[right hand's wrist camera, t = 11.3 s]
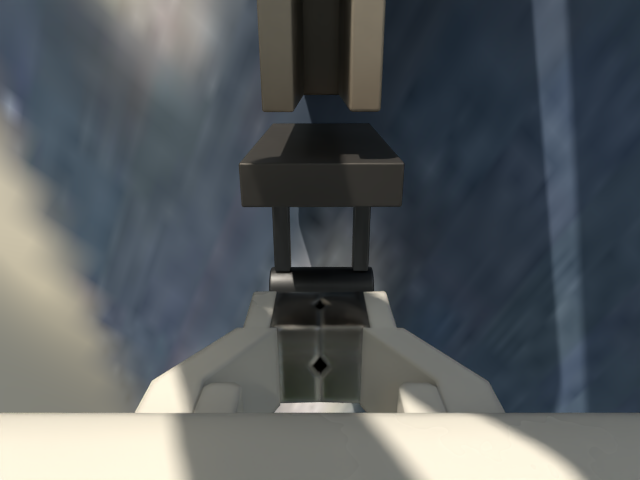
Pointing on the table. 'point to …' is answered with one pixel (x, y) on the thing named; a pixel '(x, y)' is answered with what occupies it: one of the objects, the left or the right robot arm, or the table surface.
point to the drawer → (321, 132)
